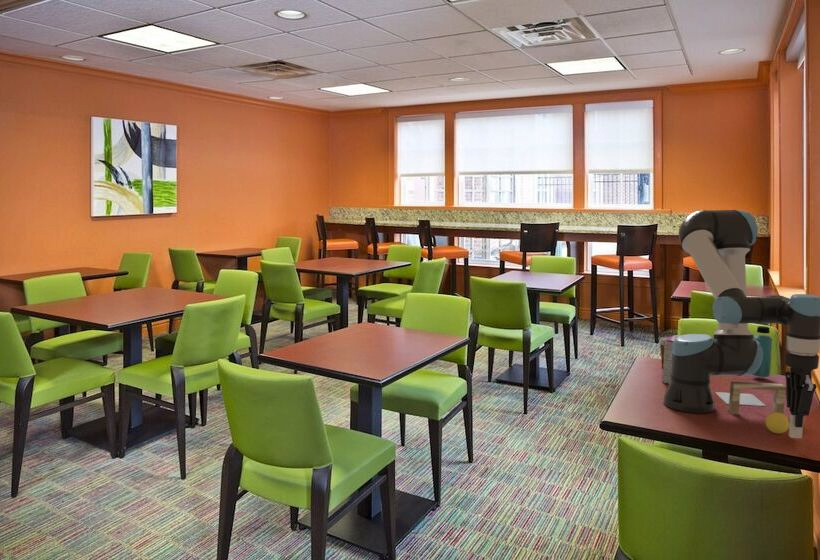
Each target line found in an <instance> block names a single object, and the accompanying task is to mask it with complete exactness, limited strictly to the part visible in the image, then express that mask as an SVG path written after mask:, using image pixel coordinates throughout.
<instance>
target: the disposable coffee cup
mask: <svg viewBox="0 0 820 560" xmlns="http://www.w3.org/2000/svg"><path fill="white" fill-rule="evenodd" d="M670 337H671V336H662V337H661V338H660V339H659V345H660V359H661V361H660V362H661V369H663V361H664V340H666V339H668V338H670Z"/></svg>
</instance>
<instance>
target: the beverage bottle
mask: <svg viewBox="0 0 820 560" xmlns="http://www.w3.org/2000/svg"><path fill="white" fill-rule="evenodd" d="M756 332H757V333H759V334H756V335H755V336H754V339H755V340H757V341H758V342H759V343H760V344H761V347H762V350H763V359H762V363H761V366H760V367H759V369H758V370H757V371H756V372H755V373H754V374H751V375H752V376H754V377H760V378H767V377H770V376H771V375H770V374H771V368H772V367H771V365H772V364H771V363H772V345H773V338H772V337H771V336H769V335H767V334H770V327H769V326H766V325H765V326H763V325H762V326H761V325H759V326H757V328H756Z"/></svg>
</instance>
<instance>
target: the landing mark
mask: <svg viewBox="0 0 820 560" xmlns="http://www.w3.org/2000/svg"><path fill="white" fill-rule="evenodd" d="M714 393H715V394H716V395H717V396H718V397H719V398H720V399H721V400H722V401H723V402H724V403H725V404H726V405H729V398H730V392H723V391H718V392H717V391H715V392H714ZM739 406H753V407H754V406H755V407H757V406H758V407H767V406H766V404H765V403H763V402H762V401H761V400H760V399H758V398H757V397H756V396H755V395H754V394H752V393H741V392H740V402H739Z"/></svg>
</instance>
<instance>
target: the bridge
mask: <svg viewBox="0 0 820 560" xmlns="http://www.w3.org/2000/svg"><path fill="white" fill-rule="evenodd" d="M741 389H744V390H745V389H750V390H768V391H774V393H773V402H772V413H781V414H783V415H785V414H784V411H785V403H786V385H784V384H782V383H771V382H770V383H769V382H749V381H748V382H747V381H731V380H730V387H729V393H730V398H729V404H728V412H729V413H730V414H732V415H739V414H740V413H739V411H740V405H739V402H740V393H741V391H742V390H741Z"/></svg>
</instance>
